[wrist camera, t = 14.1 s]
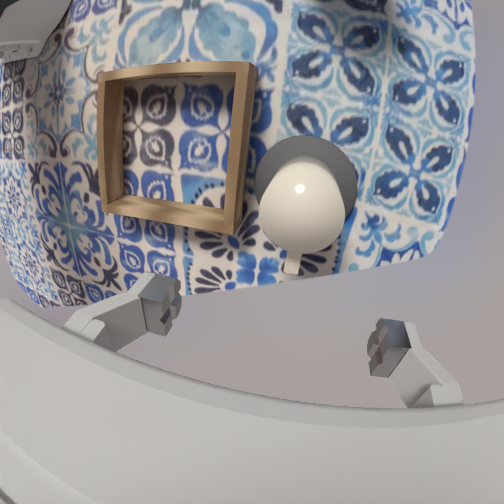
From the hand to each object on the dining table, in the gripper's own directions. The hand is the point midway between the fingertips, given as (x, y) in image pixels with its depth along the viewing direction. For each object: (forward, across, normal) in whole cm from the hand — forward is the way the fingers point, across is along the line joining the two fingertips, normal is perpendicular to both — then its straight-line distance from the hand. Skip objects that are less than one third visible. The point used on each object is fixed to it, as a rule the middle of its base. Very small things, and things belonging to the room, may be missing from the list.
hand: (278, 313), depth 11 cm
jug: (+18, -1, +1) cm, 18 cm away
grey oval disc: (+18, -1, 0) cm, 18 cm away
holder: (+19, +13, -3) cm, 23 cm away
